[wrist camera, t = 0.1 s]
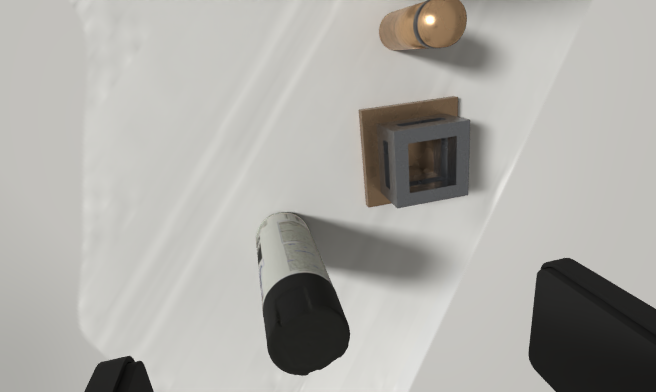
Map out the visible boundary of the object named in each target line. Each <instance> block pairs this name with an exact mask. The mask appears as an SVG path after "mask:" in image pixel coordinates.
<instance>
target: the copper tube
mask: <svg viewBox="0 0 656 392" xmlns="http://www.w3.org/2000/svg"><path fill="white" fill-rule="evenodd" d="M466 22H467V16H466V11H465V8H464V6H463V4H462V3H461V2H460V1H459V0H427V1H425V2H422V3H419V4H416V5H413V6H409V7H406V8H403V9H400V10H397V11H394V12H391V13H389V14H387V15H386V16H385V17H384V18H383V20H382V22H381V24H380V28H379V35H380V39H381V41H382V43H383V44H384V46H385V47H387V48H388V49H391V50H408V49H423V48H442V47H448V46H451V45H453V44H454V43H456V42H457V41H458V40H459V39H460V38H461V36H462V35H463V33H464V30H465V27H466Z"/></svg>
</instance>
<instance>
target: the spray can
mask: <svg viewBox="0 0 656 392" xmlns="http://www.w3.org/2000/svg"><path fill="white" fill-rule="evenodd" d="M256 245H257V255H258V265H259V275H260V286H261V297H262V308H263V317H264V323H265V331H266V339H267V348H268V352H269V355H270V358H271V360H272V361H273V363H274V364H275V365H276V366H277V367H278V368H280V369H281V370H283V371H285V372H287V373H289V374H294V375H308V374H309V373H310V372H313V371H315V370H321V369H323V368H324V367H326V366H328V365H329V364H330V363H331V362H333V361H334V360H336V359H337V358H339V357H341V356H342V355H343V354H344V353H345V351H346V349H347V348H348V343H349V339H350V330H349V325H348V322H347V320H346V317H345V315H344V312H343V310H342V307H341V304H340V302H339V299H338V297H337V294H336V291H335V289H334V287H333V285H332V283H331V280H330V278H329V276H328V273H327V271H326V269H325V266H324V264H323V261H322V259H321V257H320V254H319V252H318V250H317V247H316V245H315V243H314V240H313V238H312V236H311V233H310V231H309V229H308V226H307V225H306V223H305V222H304V221H303V220H302V219H301V218H300V217H298V216H297V215H295V214H293V213H277V214H274V215H271V216H269V217H268V218H267V219H265V220H264V222H263V223H262V224H261V225H260V227H259V229H258V231H257V235H256Z"/></svg>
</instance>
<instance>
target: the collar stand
mask: <svg viewBox="0 0 656 392" xmlns="http://www.w3.org/2000/svg"><path fill="white" fill-rule="evenodd" d="M359 118H360V131H361V144H362V157H363V170H364V183H365V196H366V205H367V206H368V207H374V206H379V205H384V204H390V203H392V204H393V205H394V206H396V207H397V208H401V207H407V206H412V205H417V204H423V203H428V202H433V201H439V200H444V199H449V198H454V197H460V196H465V195H468V178H469V139H470V120H468V119H464V118H460V117H458V97H455V96H452V97H445V98H438V99H431V100H424V101H417V102H410V103H403V104H396V105H389V106H382V107H375V108H368V109H361V110H359Z"/></svg>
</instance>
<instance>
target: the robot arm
mask: <svg viewBox="0 0 656 392" xmlns="http://www.w3.org/2000/svg"><path fill="white" fill-rule="evenodd" d="M529 360H530V362H531V364H532V366H533V368H534V369H535V370H536V371H537V372H538V373H539V374H540V376H541V377H542V378H543V379H544V380H545V381H546V382H547V383H548V384H549V385H550V386H551V387H552V388H553V389H554V390H555V391H556V392H656V309H655V308H653V307H652V306H650V305H648V304H646V303H645V302H643V301H642V300H640V299H638V298H637V297H635V296H633V295H631V294H630V293H628V292H626V291H625V290H623V289H621V288H620V287H618V286H616V285H615V284H613V283H611V282H610V281H608V280H606V279H605V278H603V277H601V276H600V275H598V274H596V273H595V272H593V271H591V270H590V269H588V268H586V267H585V266H583V265H581V264H580V263H578V262H576V261H575V260H573V259H570V258H563V259H559V260H554V261H550V262H546V263H544V264H543V265H542V267H541V270H540V271H539V272H538V273H537V278H536V288H535V297H534V307H533V317H532V326H531V335H530V345H529ZM85 392H154V391H153V388H152V386H151V383H150V380H149V377H148V374H147V371H146V369H145V366H144V364H143V362H142V361H137V362H135V361H134V359H133V358H132V357H131V356H126V357H122V358H118V359H113V360H109V361H104V362H101V363H99V364H98V365H97V367H96V368H95V370H94V373H93V375H92V377H91V379H90V381H89V383H88V385H87V387H86V389H85Z"/></svg>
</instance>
